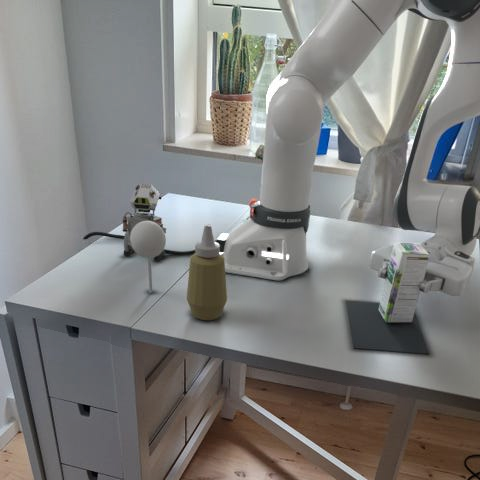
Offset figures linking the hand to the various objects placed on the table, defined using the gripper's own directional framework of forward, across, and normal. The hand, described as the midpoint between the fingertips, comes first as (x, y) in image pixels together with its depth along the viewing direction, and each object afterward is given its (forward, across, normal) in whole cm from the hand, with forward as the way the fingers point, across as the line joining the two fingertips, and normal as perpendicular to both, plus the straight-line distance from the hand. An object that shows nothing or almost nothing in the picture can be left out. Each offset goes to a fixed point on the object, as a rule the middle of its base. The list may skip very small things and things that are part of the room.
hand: (402, 281), depth 111 cm
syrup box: (-1, 0, +8) cm, 8 cm away
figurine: (+11, -60, +9) cm, 62 cm away
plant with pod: (-29, -54, +9) cm, 62 cm away
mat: (+3, 0, +9) cm, 9 cm away
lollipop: (+26, -44, +9) cm, 52 cm away
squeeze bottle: (+25, -29, +9) cm, 39 cm away
